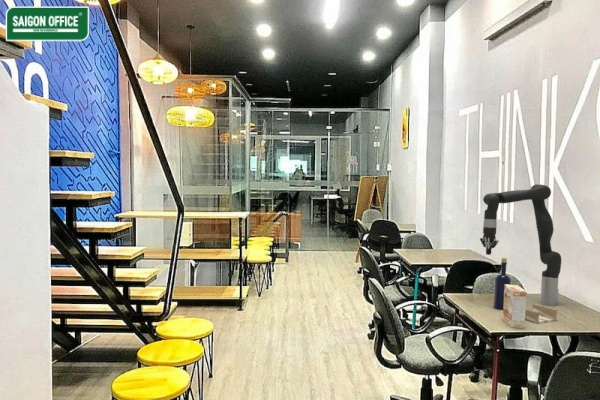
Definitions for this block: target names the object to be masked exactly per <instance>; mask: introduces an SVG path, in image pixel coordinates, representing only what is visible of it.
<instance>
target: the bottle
mask: <svg viewBox="0 0 600 400" xmlns="http://www.w3.org/2000/svg"><path fill="white" fill-rule="evenodd" d="M507 265H508V263H507V257H501V262H500V266H501V267H500V268H501V269H500V274H498V275H496V277H495V278H494V279H495V280H494V297H493V309H494V310H499V311H503V305H504V285H505V284H509V285H512V279H511V277H510V276H509V275H507V274H506V273H507Z"/></svg>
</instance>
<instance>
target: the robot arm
mask: <svg viewBox="0 0 600 400" xmlns="http://www.w3.org/2000/svg"><path fill="white" fill-rule="evenodd" d="M551 195H552V190H551V188H550V187H549V186H548V185H546V184H534V185H532V186H531V188H530V189H520V190H518V189H517V190H508V191H502V192H494V193H493V192H492V193H491V192H490V193H487V194H485V195H484V196H483V200H482V201H483V202H484V204H485V205H487V207H486V209H485V211H484V215H483V218H484V219H483V225H482V226H483V227H482V228H483V229H482V234H483V235H482V237H481V238H479V241H480V242H481V244H482V246H483V248H485V253H486V255H487V256H489V255H490V256H491V254H492V249H494V248H496V246H497V245H498V243H499V240H497V239H496V235H497V222H498V221H497V219H498V218H497V212H498V210H499V206H500V204H510V203H516V202H522V201H529V200H531V202H532V207H533V211H534V216H535V225H536V231H537V235H538V237H537V238H538V244H539V259H540V261H541V263H542V264H544V265H546V269H545V270H542V272H541V284H540V287H541V288H540V301H539V303H540V304H542V305H543V306H544V305H545V306H552V307H553V306H557V305H558V303H559V276H560V273H561V267H562V256H561V254H560V253H559V252H557V251H554V250H553V249H552V244H551V241H552V238H553V234H554V230H555V229H554V222H553V219H552V216H551V214H550V212H549V210H548V208H547V205H546V203H545V201H546V200H548V198H550V196H551Z"/></svg>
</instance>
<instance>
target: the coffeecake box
mask: <svg viewBox="0 0 600 400" xmlns="http://www.w3.org/2000/svg"><path fill="white" fill-rule="evenodd" d="M526 306H527V290H525V289H523V288H522V287H520V285H518V284H511V285H509V284H505V285H504V305H503V310H502V320H503V321H504V322H505V323H506V324H507V325H508V326H509V327H510V328H513V327H516V328H518V329H519V328H520V329H525V328H526V327H525V326H526V325H525V324H526V320H525V309H527V307H526Z"/></svg>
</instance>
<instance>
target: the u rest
mask: <svg viewBox="0 0 600 400" xmlns="http://www.w3.org/2000/svg"><path fill="white" fill-rule="evenodd" d="M557 314H558V310H557V309H555V308H551V307H547V306H544V305H540V304H538V303H533V304H532V310H531V309H528V308H526V309H525V322H526V321H527V322H529V323H532V324H536V325H537V324H538V325H539V324H544V323H545V324H546V323H550V322H557Z"/></svg>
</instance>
